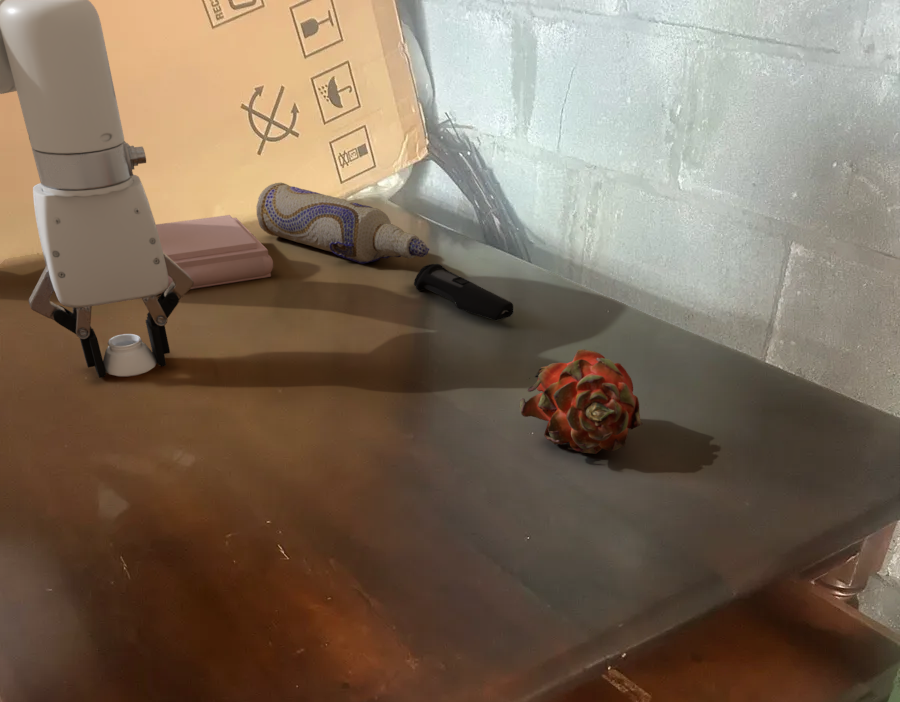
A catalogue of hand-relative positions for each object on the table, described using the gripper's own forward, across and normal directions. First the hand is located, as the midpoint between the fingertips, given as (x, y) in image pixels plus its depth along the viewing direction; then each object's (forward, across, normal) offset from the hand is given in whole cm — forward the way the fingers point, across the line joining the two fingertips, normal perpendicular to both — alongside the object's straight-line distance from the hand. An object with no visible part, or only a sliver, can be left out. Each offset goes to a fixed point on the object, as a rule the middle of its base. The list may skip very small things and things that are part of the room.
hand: (130, 364), depth 89 cm
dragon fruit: (+1, -32, +31) cm, 45 cm away
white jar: (+1, 0, 0) cm, 1 cm away
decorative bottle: (+1, -30, -23) cm, 38 cm away
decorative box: (0, -13, -26) cm, 29 cm away
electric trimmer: (+1, -37, -1) cm, 37 cm away
